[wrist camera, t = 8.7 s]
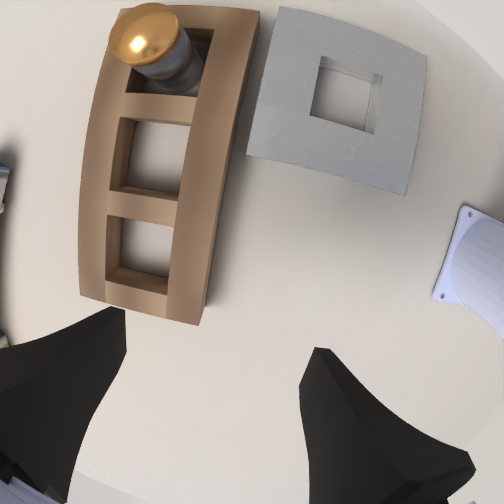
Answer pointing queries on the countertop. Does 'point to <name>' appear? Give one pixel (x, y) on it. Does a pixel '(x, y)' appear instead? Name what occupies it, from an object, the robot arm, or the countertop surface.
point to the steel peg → (156, 47)
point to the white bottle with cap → (0, 180)
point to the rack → (193, 175)
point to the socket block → (327, 132)
